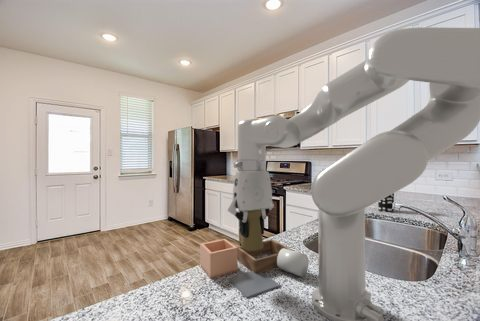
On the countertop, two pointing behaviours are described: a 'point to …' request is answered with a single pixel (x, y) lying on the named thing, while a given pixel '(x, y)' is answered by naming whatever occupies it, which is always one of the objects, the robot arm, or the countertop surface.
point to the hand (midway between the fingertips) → (252, 233)
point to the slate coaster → (253, 283)
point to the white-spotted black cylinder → (386, 204)
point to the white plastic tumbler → (292, 262)
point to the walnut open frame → (261, 263)
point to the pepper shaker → (253, 232)
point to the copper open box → (218, 258)
